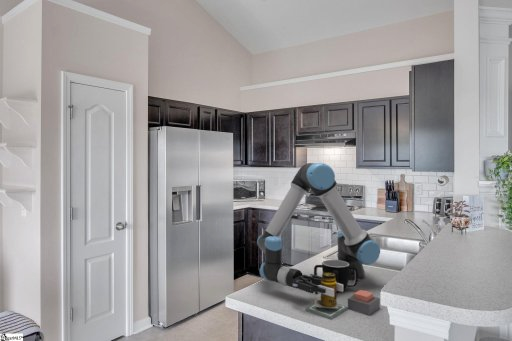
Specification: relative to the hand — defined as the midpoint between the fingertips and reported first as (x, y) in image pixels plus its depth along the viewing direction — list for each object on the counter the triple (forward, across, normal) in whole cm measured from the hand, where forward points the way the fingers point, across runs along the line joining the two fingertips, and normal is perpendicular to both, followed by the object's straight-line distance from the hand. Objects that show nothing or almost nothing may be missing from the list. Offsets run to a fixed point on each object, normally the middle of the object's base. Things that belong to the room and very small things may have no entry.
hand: (338, 290), depth 131 cm
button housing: (+5, -11, -9) cm, 15 cm away
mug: (-14, -22, -9) cm, 28 cm away
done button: (+5, -11, -6) cm, 13 cm away
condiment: (-5, 0, -7) cm, 8 cm away
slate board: (-5, 0, -9) cm, 10 cm away
